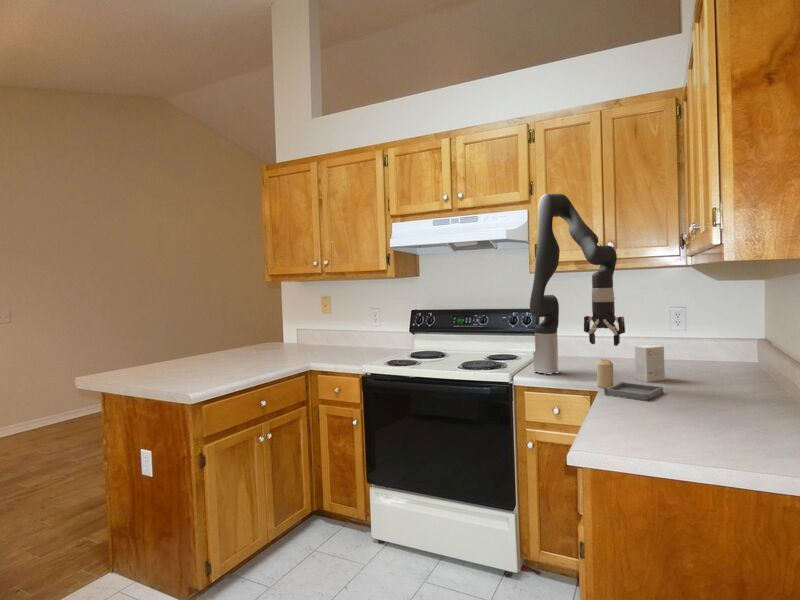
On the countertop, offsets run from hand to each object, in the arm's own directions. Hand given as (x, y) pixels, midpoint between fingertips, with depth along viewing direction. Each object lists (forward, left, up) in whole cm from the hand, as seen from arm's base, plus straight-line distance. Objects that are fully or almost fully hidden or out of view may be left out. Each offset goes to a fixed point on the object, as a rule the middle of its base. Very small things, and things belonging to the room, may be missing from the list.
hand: (604, 344), depth 178 cm
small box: (+8, +21, -16) cm, 28 cm away
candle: (0, 0, -16) cm, 16 cm away
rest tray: (+12, -5, -16) cm, 20 cm away
